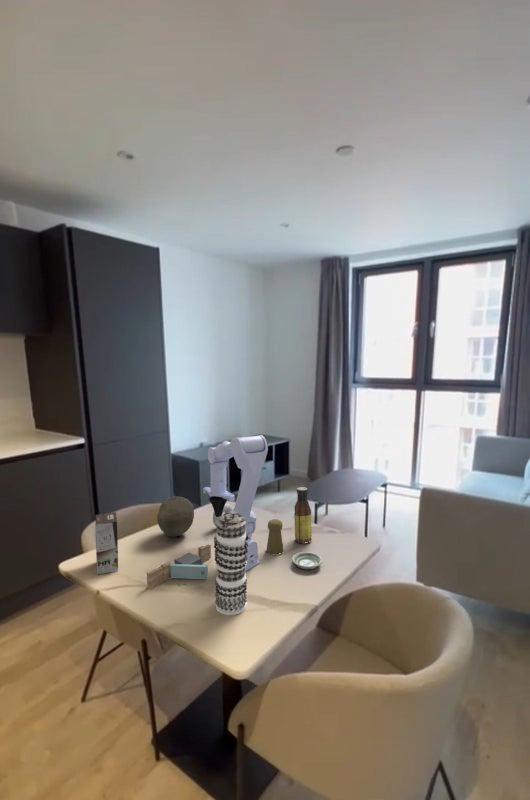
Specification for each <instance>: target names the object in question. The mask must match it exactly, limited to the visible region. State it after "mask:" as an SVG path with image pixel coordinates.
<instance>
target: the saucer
mask: <svg viewBox="0 0 530 800" xmlns="http://www.w3.org/2000/svg"><path fill="white" fill-rule="evenodd" d="M291 561H292V562H293V564H294V565H295V566H297V567H298V568H300V569H303V570H313V569H316V568H317V567H319V566H321V564H322V562H323V559H322V557H321V556H320V555H319V554H317V553H314V552H311V551H309V552H308V551H301V552H298V553H295V554H293V556H292V558H291Z"/></svg>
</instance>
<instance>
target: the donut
mask: <svg viewBox="0 0 530 800" xmlns="http://www.w3.org/2000/svg"><path fill="white" fill-rule="evenodd" d="M233 509H234V508H232V506H231V504H230V503H227V502H226V504H225V506H224V509H223V513H224V514H226V513H229V512H231V511H232V510H233ZM223 513H222V515H223ZM212 515H213V516H212V523H213V525H214V526H215V527H216V528H217V524H216V521H217V520H218V519H219V518H220V517H221V516H220V517H216V516H215V513H214V512H213V514H212Z"/></svg>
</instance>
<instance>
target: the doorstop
mask: <svg viewBox="0 0 530 800" xmlns="http://www.w3.org/2000/svg"><path fill="white" fill-rule="evenodd" d="M173 564H188V565H203V563H202V558H200V557H198V555H195V554H193V553H191V552H187V553H185V554H183V555H181V556H179V557H177V558H175V559H174V563H173Z"/></svg>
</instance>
